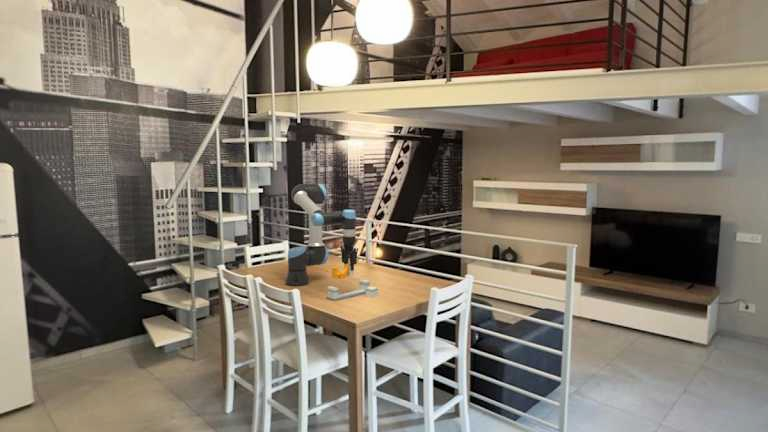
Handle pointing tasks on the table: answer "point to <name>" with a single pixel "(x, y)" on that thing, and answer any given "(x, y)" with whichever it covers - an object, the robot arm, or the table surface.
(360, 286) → the module
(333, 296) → the module
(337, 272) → the orange irregular piece
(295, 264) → the robot arm
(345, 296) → the din board
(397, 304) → the table surface
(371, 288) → the module
